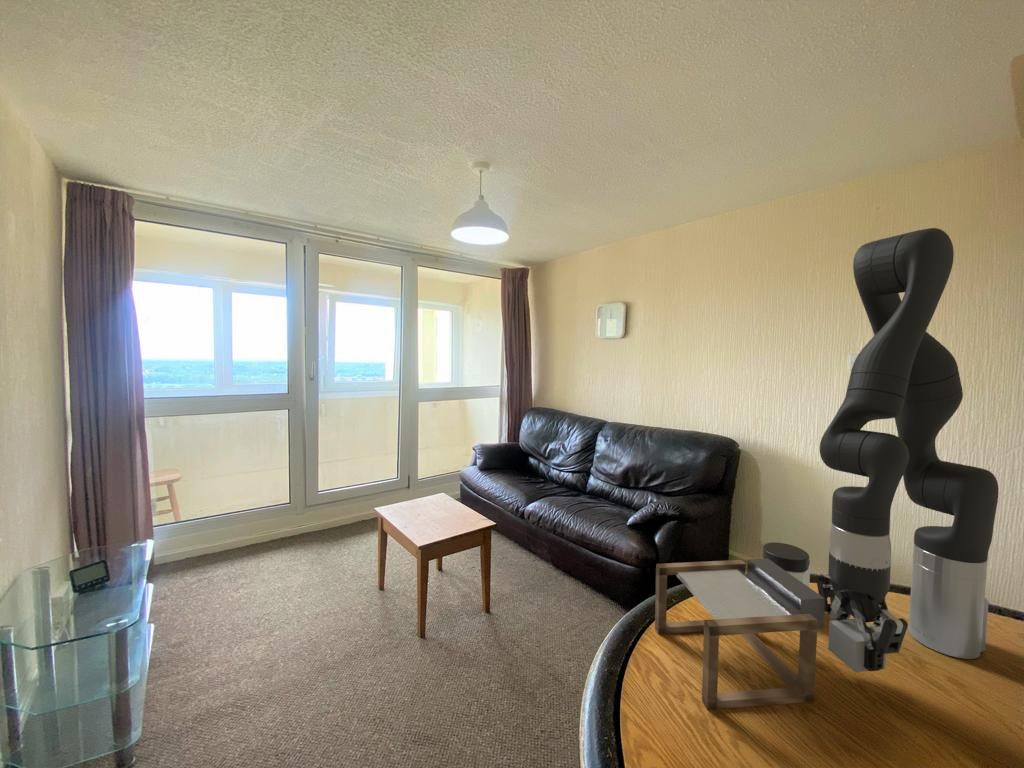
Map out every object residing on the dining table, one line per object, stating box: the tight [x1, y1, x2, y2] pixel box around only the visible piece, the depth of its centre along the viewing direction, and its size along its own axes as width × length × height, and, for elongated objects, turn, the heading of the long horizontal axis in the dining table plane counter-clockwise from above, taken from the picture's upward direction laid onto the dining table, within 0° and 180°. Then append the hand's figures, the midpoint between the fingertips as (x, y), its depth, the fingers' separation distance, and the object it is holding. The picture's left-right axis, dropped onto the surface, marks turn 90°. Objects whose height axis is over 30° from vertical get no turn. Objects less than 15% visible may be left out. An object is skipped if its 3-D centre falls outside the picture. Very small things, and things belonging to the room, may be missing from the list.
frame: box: [654, 559, 818, 711], centre depth 72 cm, size 17×18×13 cm
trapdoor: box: [676, 558, 825, 630], centre depth 72 cm, size 18×15×5 cm
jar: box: [762, 541, 811, 588], centre depth 87 cm, size 9×8×12 cm
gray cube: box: [827, 618, 887, 673], centre depth 67 cm, size 5×5×5 cm
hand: (855, 655), depth 67 cm, fingers closed on gray cube, 5 cm apart
